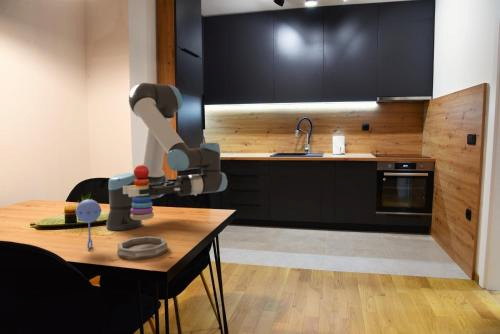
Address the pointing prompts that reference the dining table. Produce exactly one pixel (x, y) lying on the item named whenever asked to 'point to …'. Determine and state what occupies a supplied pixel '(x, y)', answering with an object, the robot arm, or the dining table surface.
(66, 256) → the dining table surface
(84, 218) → the baby rattle
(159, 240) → the plate
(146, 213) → the stacking toy
